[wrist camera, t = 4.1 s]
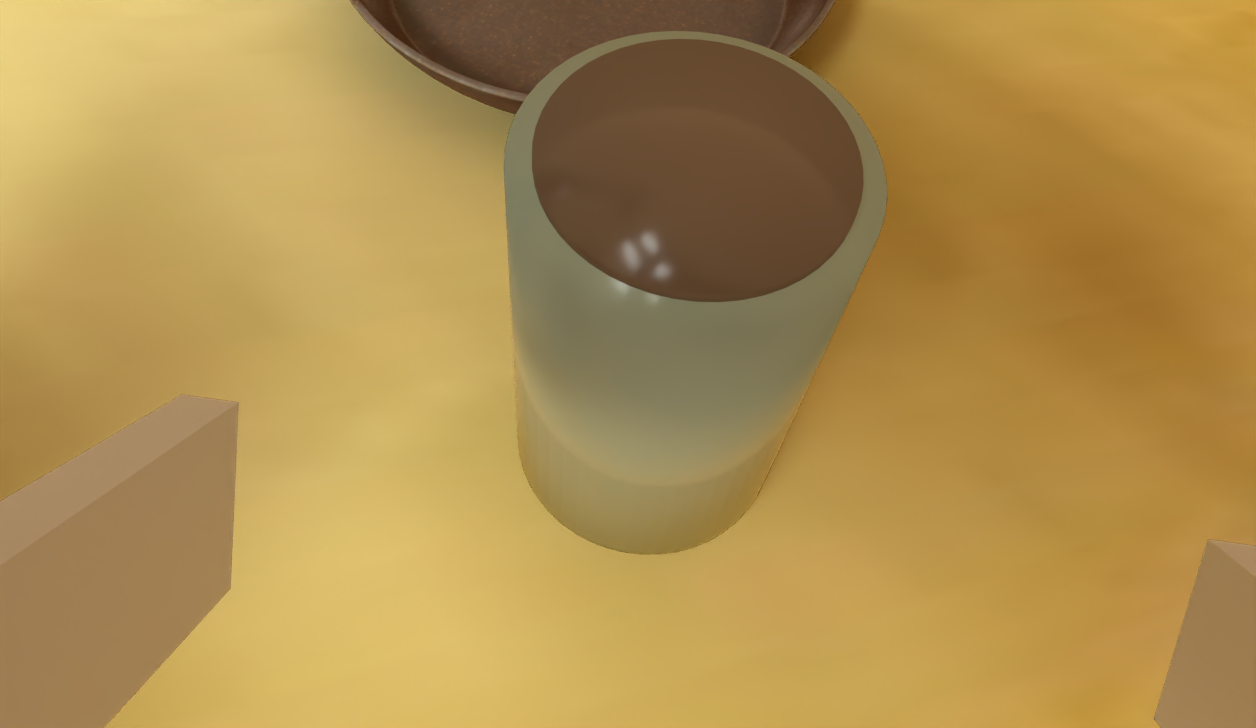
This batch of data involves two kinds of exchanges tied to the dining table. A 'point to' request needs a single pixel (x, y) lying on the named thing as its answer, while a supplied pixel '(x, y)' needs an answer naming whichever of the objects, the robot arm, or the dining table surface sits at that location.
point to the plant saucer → (562, 34)
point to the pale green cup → (676, 275)
